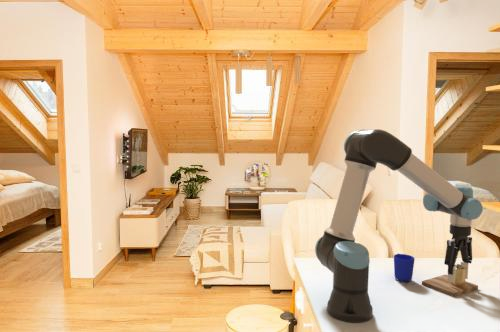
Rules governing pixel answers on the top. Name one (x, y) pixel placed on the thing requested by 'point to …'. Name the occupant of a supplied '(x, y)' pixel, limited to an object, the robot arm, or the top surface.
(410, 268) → the mug
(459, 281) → the bushing
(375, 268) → the top surface
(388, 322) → the top surface
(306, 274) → the top surface
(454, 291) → the board
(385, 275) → the top surface
